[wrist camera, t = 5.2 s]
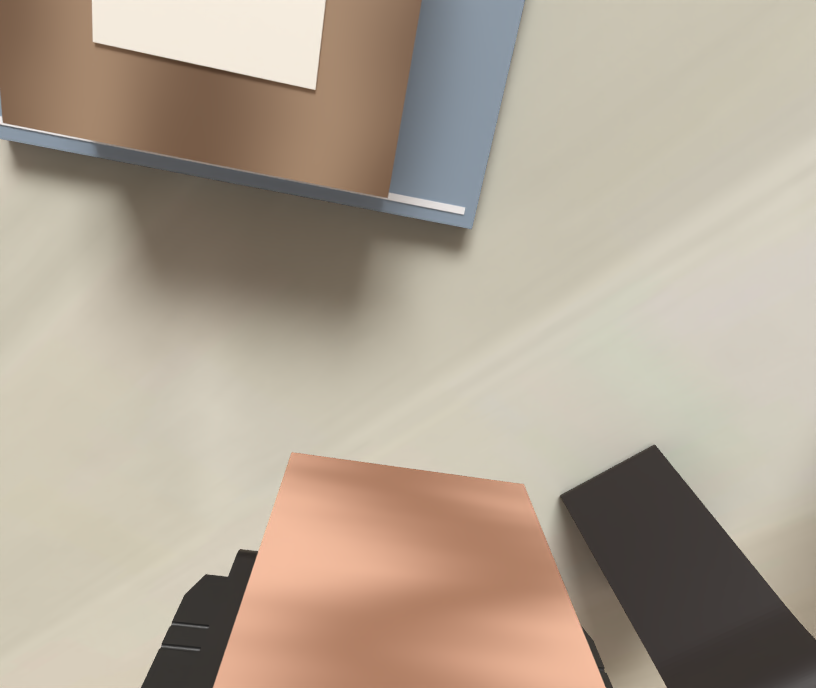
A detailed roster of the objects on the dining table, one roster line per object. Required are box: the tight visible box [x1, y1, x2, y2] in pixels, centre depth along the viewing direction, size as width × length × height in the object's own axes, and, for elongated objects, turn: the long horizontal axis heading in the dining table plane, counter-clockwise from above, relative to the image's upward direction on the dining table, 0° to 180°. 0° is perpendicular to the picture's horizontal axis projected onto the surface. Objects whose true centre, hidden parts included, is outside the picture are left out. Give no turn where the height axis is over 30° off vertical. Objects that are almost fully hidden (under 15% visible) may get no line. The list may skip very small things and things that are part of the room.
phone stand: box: [560, 445, 816, 688], centre depth 24 cm, size 9×6×12 cm, turn 33°
